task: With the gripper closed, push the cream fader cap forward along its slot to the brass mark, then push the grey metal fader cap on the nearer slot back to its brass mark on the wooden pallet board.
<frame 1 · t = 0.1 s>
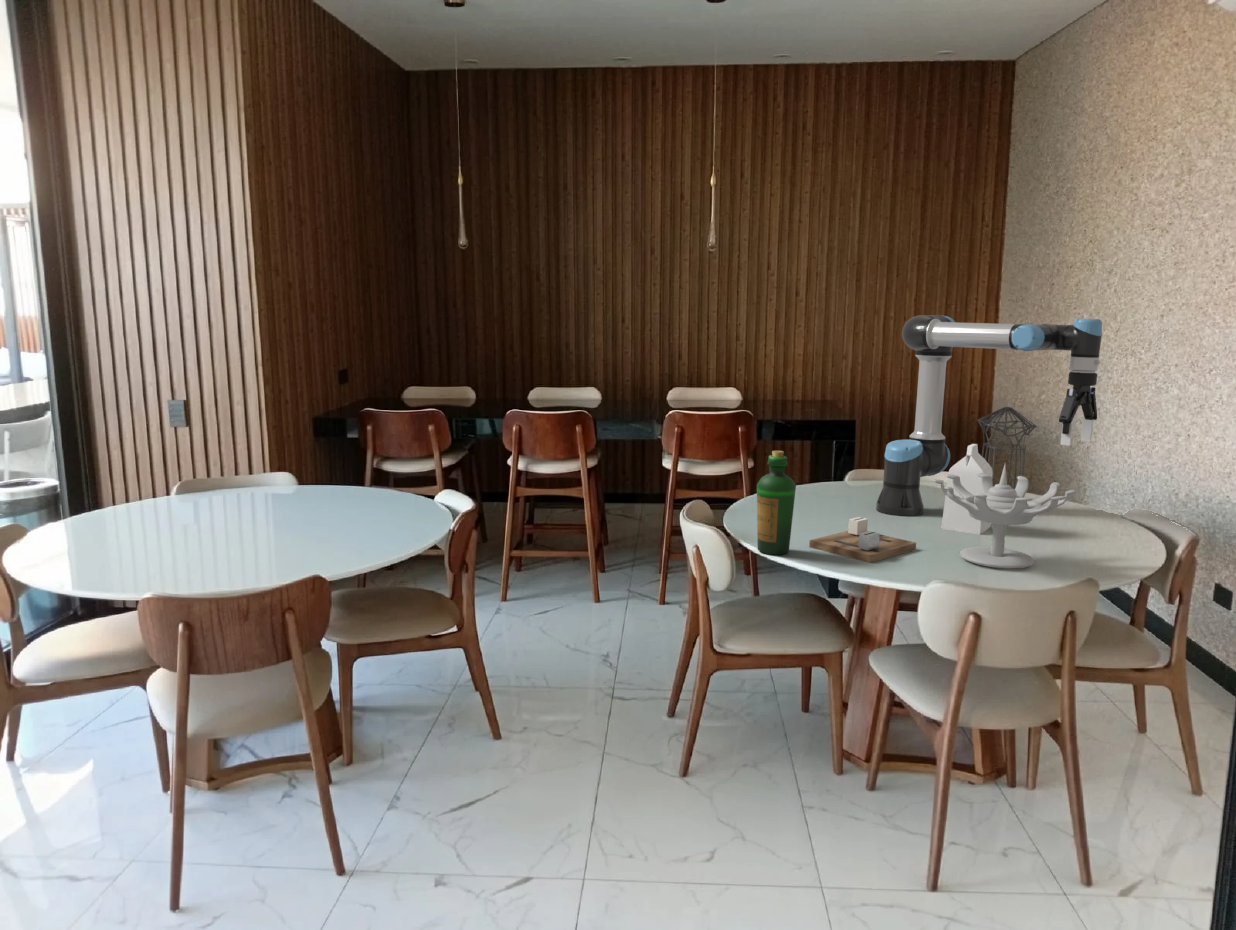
hand: (1075, 443, 272), 28 cm above the table, fingers open, 13 cm apart
fader a: (858, 525, 264), point 4 cm above the table, slide at -4.0 cm
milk: (965, 528, 283), on the table
geometric lantern: (998, 510, 310), on the table
candelabra: (996, 561, 246), on the table
wooden pallet board: (862, 548, 257), on the table
bottle: (773, 552, 252), on the table
fader b: (869, 540, 248), point 4 cm above the table, slide at 4.0 cm
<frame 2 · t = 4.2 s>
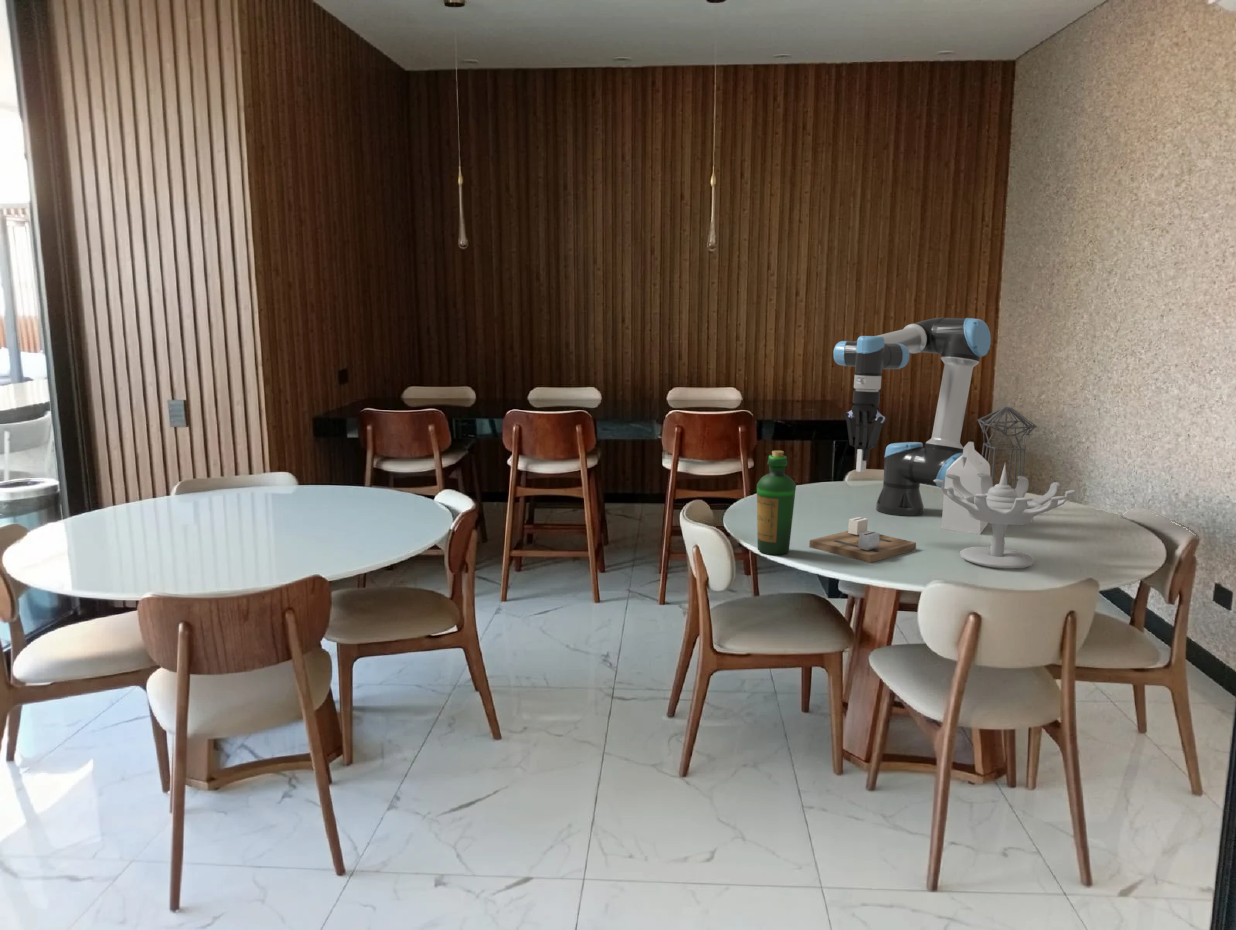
hand: (860, 471, 265), 20 cm above the table, fingers closed
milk: (965, 525, 283), point 1 cm above the table, touching arm
everything else where it was.
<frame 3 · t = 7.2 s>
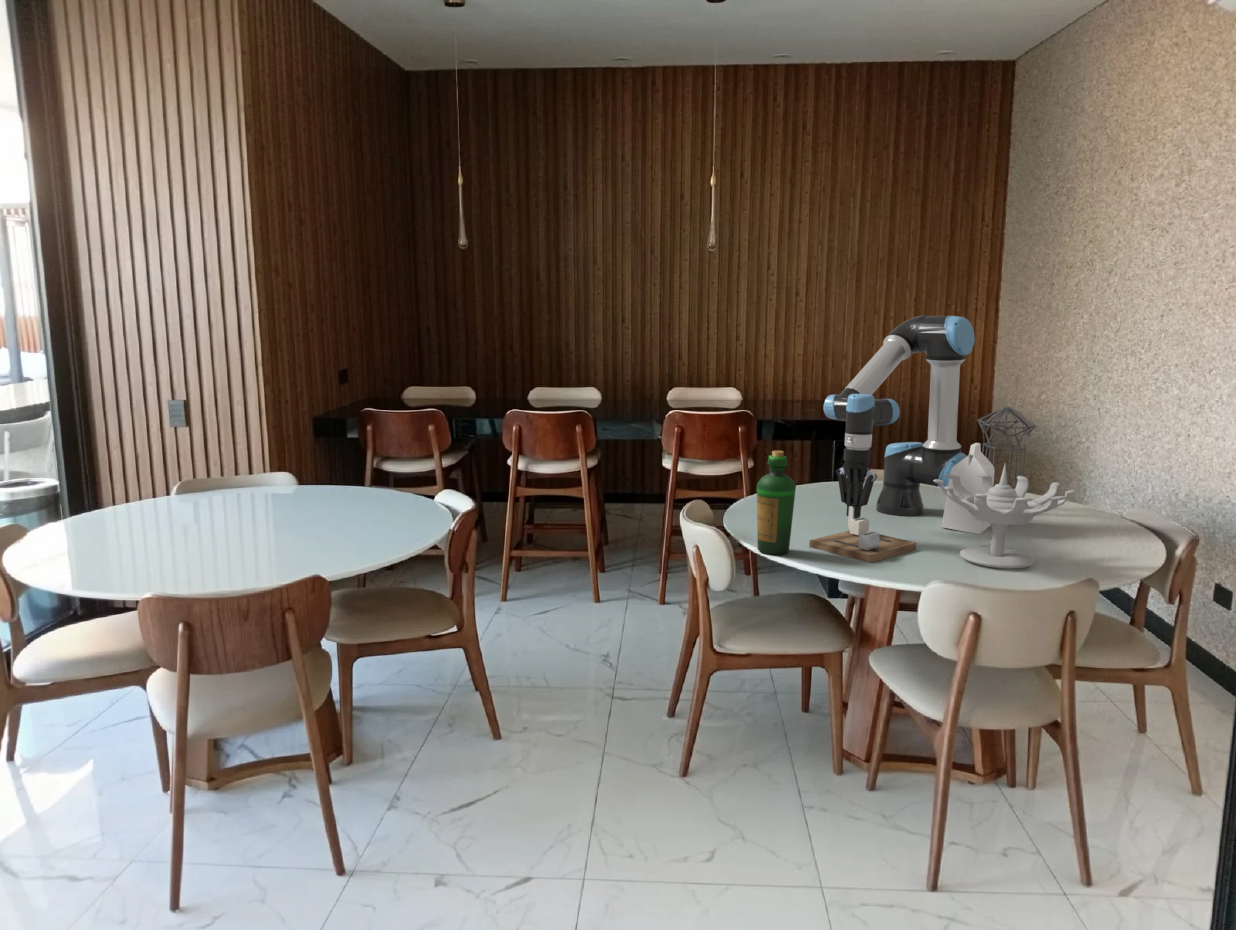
hand: (852, 527, 266), 3 cm above the table, fingers closed
fader a: (859, 526, 264), point 4 cm above the table, slide at -3.5 cm, touching gripper
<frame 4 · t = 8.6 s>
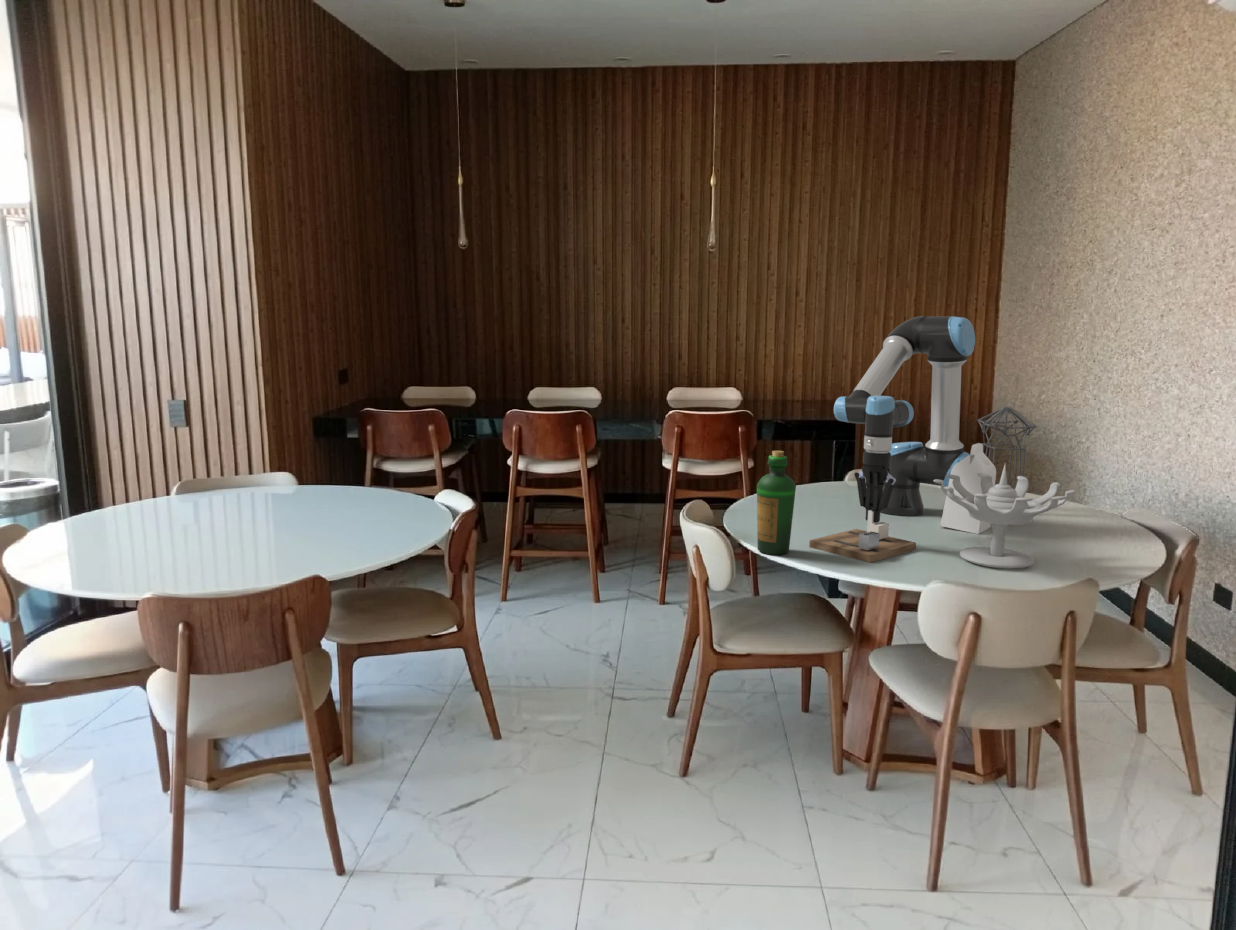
hand: (871, 532, 261), 3 cm above the table, fingers closed
fader a: (878, 530, 259), point 4 cm above the table, slide at 3.0 cm, touching gripper
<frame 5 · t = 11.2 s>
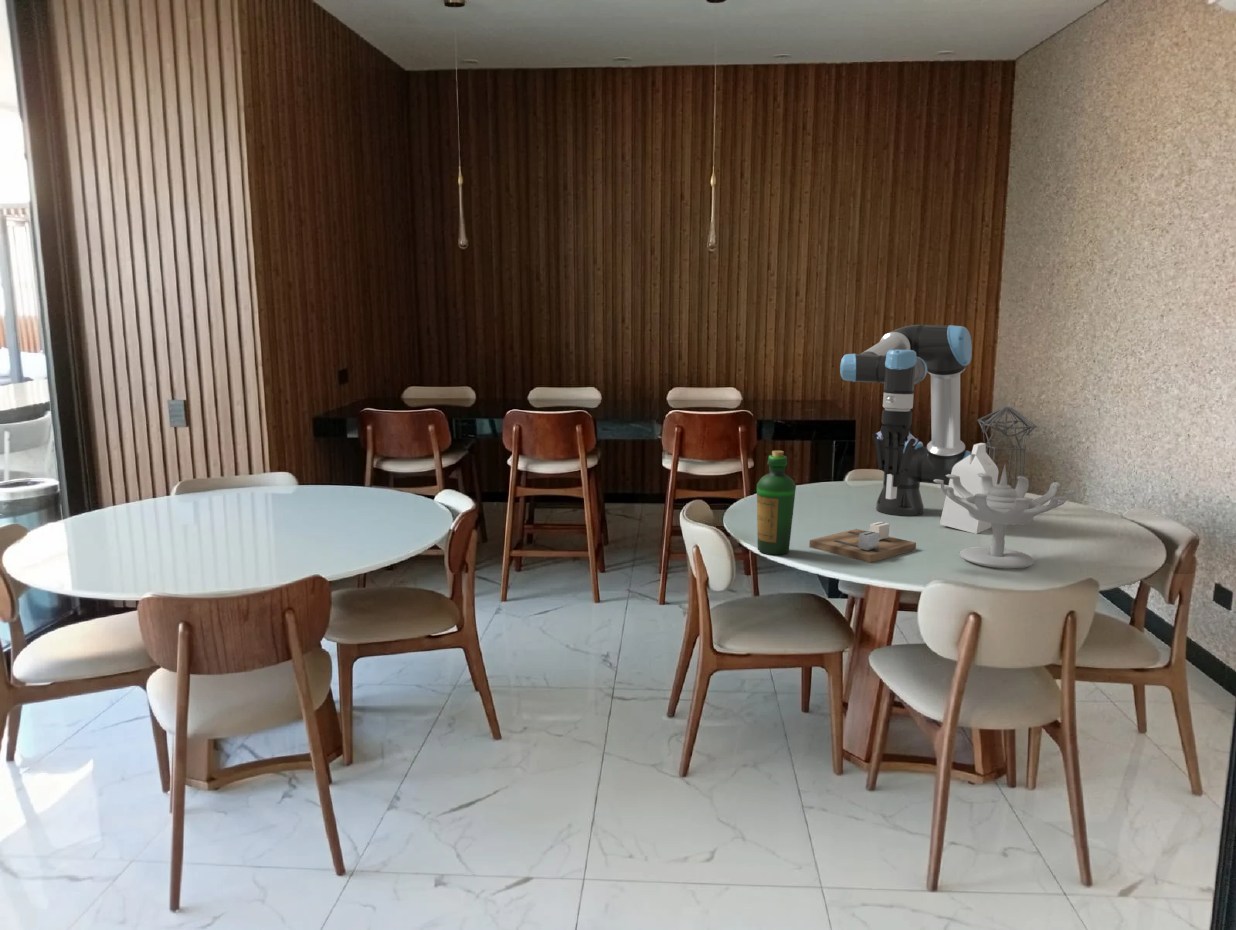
hand: (890, 498, 241), 17 cm above the table, fingers closed
fader a: (879, 530, 259), point 4 cm above the table, slide at 3.2 cm
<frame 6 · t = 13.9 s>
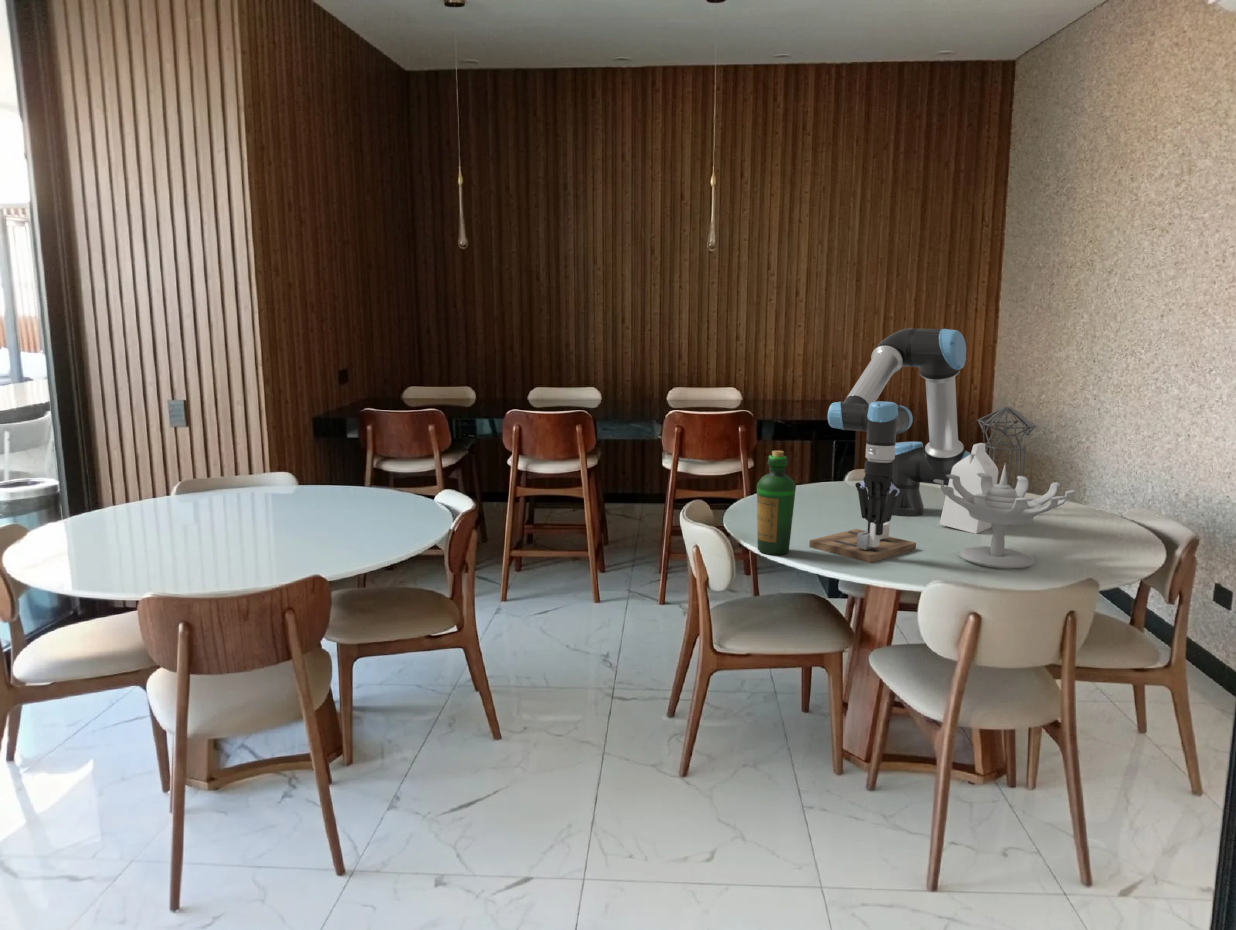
hand: (874, 545, 247), 3 cm above the table, fingers closed
fader b: (867, 540, 248), point 4 cm above the table, slide at 3.4 cm, touching gripper
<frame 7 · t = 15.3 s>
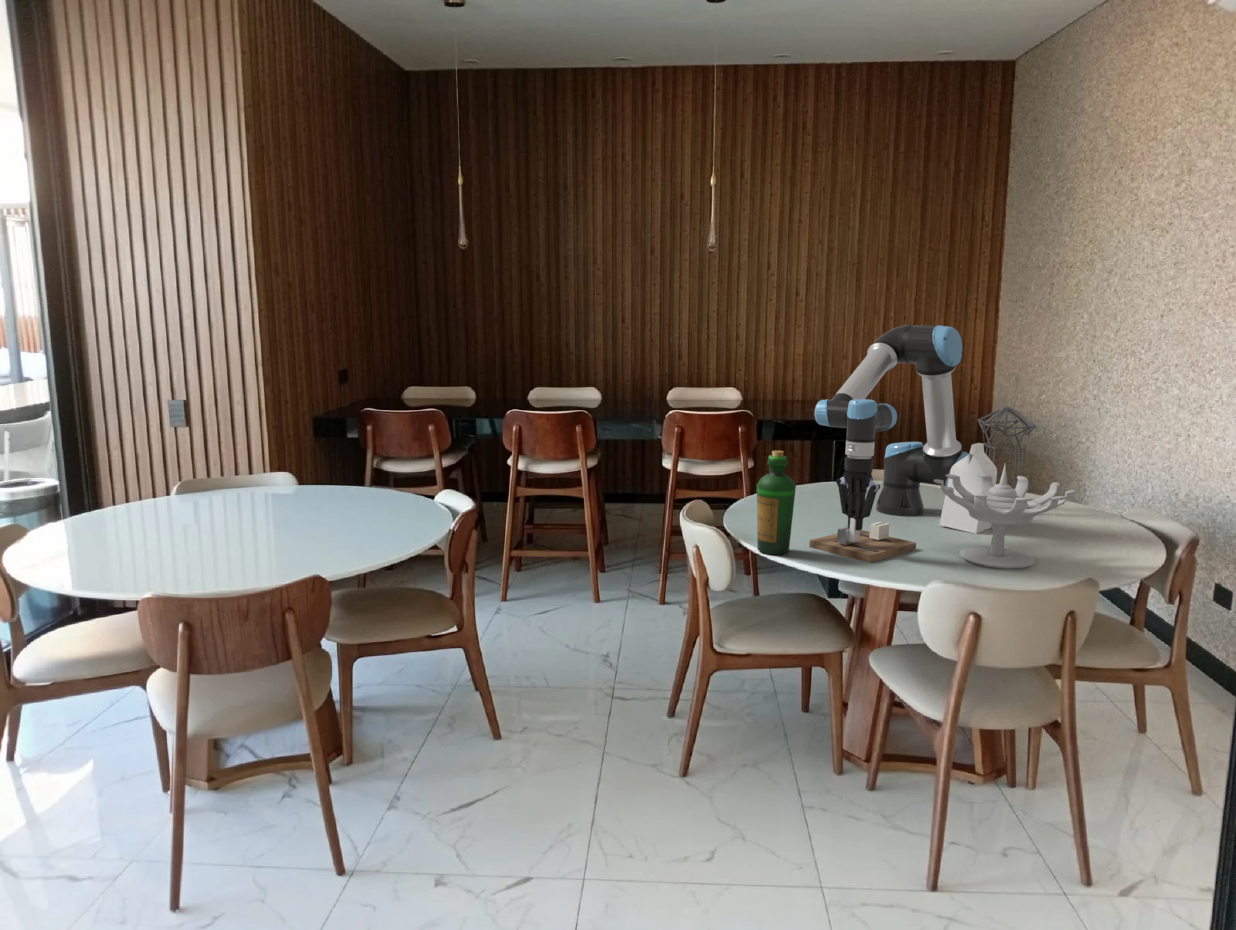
hand: (854, 540, 251), 3 cm above the table, fingers closed
fader b: (847, 535, 253), point 4 cm above the table, slide at -3.0 cm, touching gripper
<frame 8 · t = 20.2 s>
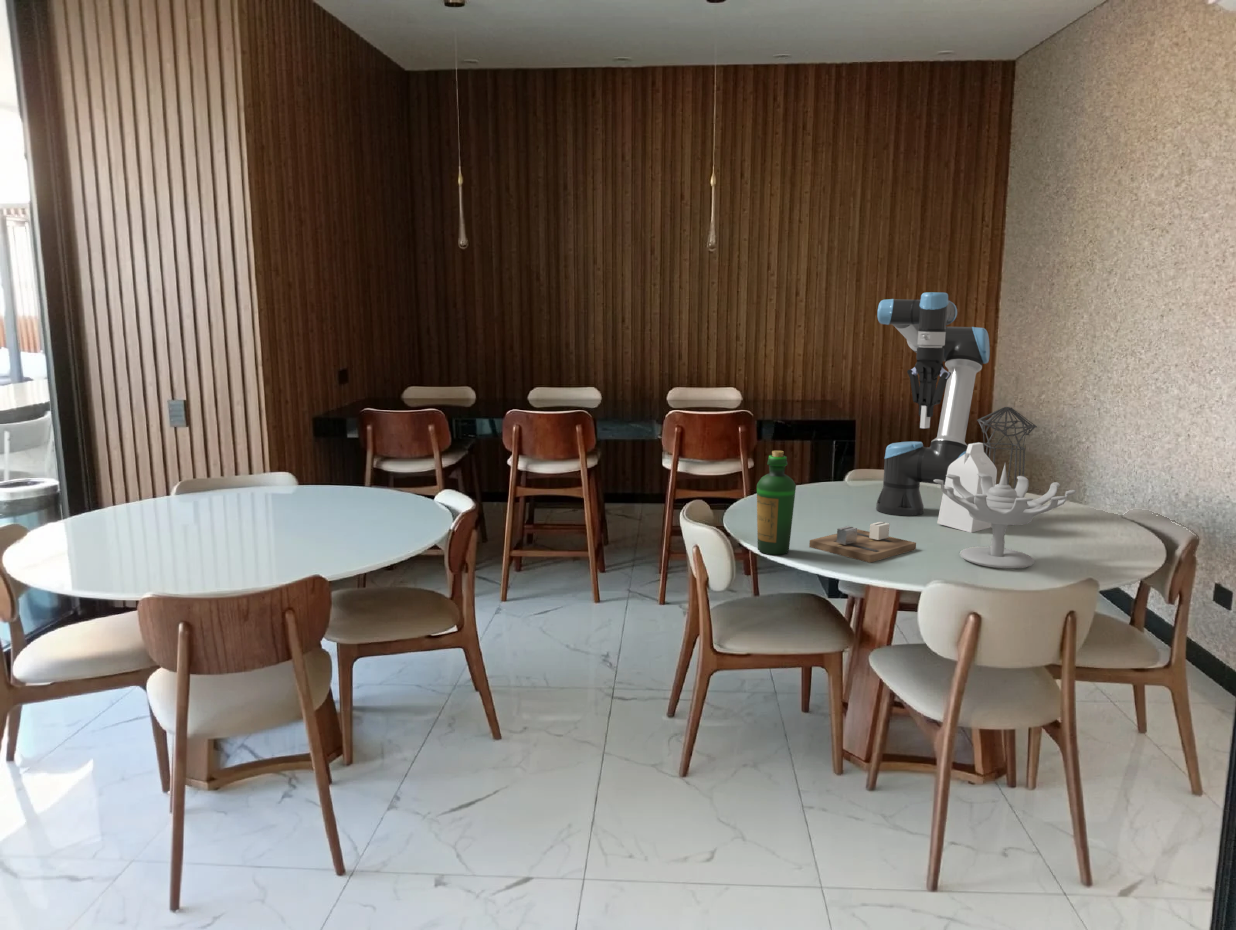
hand: (924, 427, 267), 32 cm above the table, fingers closed
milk: (964, 525, 285), on the table, touching arm
fader b: (846, 535, 253), point 4 cm above the table, slide at -3.2 cm
everything else where it was.
at the end: fader a slide at 3.2 cm; fader b slide at -3.2 cm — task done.
